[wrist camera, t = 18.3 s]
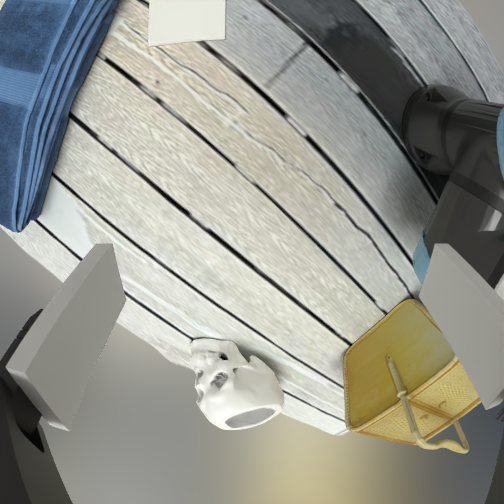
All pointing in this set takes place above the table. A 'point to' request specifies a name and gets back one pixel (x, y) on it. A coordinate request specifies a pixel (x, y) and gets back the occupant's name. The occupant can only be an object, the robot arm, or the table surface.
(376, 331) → the picnic basket
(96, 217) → the table surface
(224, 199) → the table surface
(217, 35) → the white mat
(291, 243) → the table surface
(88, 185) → the table surface
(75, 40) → the towel
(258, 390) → the skull planter
